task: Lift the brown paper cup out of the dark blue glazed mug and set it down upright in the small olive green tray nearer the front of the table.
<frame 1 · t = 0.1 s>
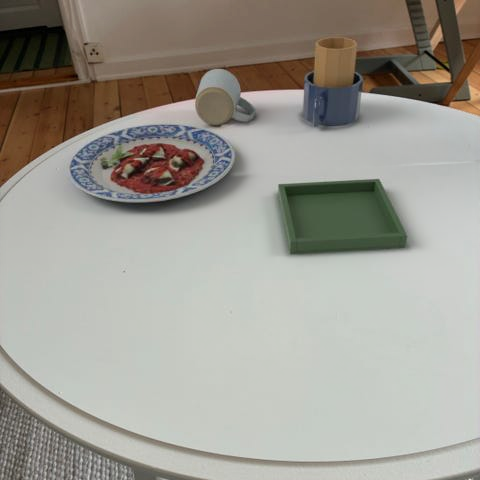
green tray: (336, 220, 73), on the table
blue mug: (330, 117, 98), on the table
ceramic mug: (226, 119, 100), on the table
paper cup: (330, 114, 98), point 1 cm above the table, touching blue mug
ceramic plate: (154, 171, 86), on the table
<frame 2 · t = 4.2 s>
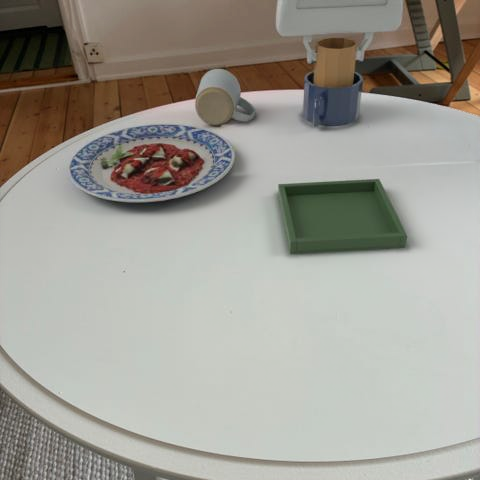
hand: (334, 61, 92), 10 cm above the table, tool pointing down, fingers closed on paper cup, 6 cm apart
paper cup: (330, 114, 98), point 1 cm above the table, touching blue mug, gripper
everything else where it was.
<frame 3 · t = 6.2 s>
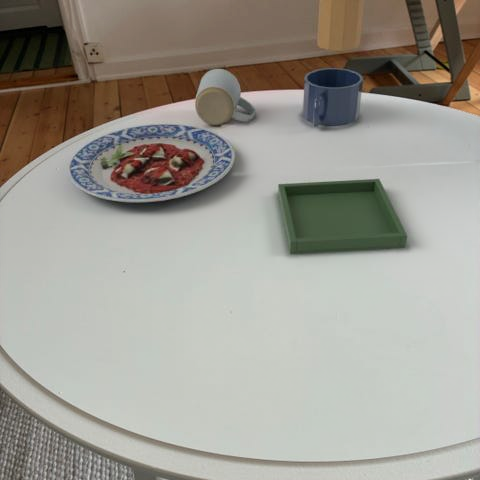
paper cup: (338, 44, 87), point 13 cm above the table, touching gripper
everything else where it was.
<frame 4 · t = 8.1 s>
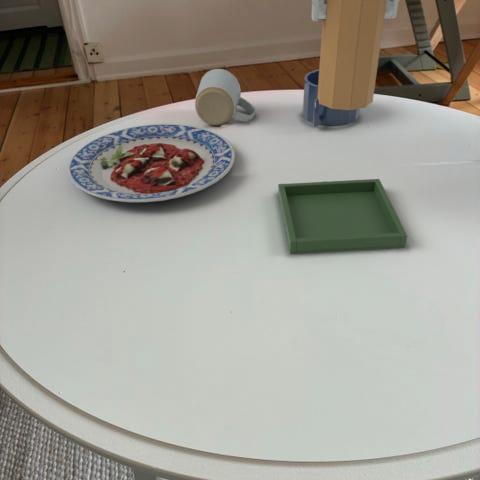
hand: (352, 18, 61), 23 cm above the table, tool pointing down, fingers closed on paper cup, 6 cm apart
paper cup: (344, 99, 68), point 14 cm above the table, touching gripper
everything else where it was.
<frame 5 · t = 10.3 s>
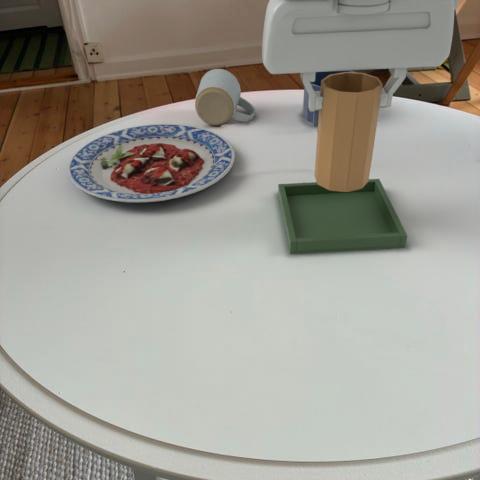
hand: (348, 107, 63), 15 cm above the table, tool pointing down, fingers closed on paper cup, 6 cm apart
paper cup: (341, 178, 69), point 6 cm above the table, touching gripper
everything else where it was.
when the fingers open (9 cm above the table, at t = 12.3 s): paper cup stays where it is, resting on green tray.
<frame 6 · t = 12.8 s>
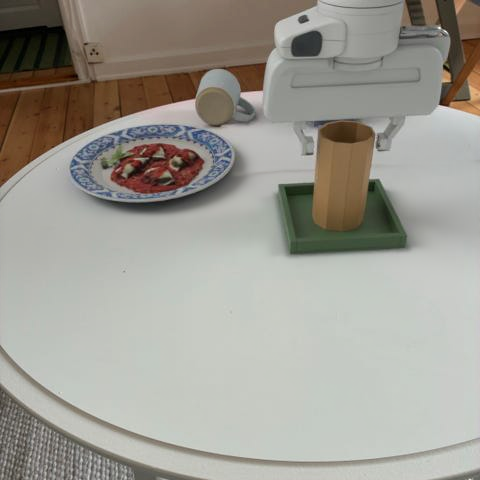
hand: (344, 151, 67), 10 cm above the table, tool pointing down, fingers open, 8 cm apart
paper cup: (337, 217, 73), resting on green tray
everything else where it was.
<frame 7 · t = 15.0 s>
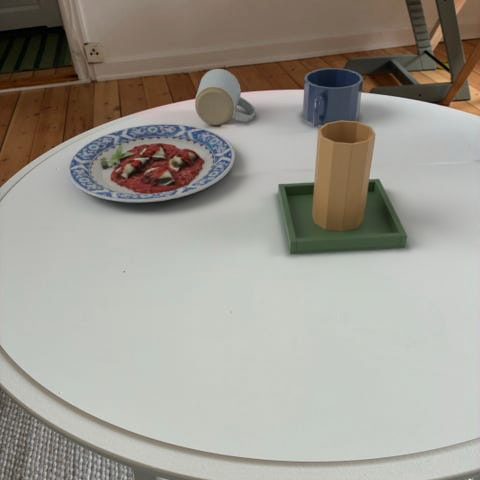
nothing on the table moved.
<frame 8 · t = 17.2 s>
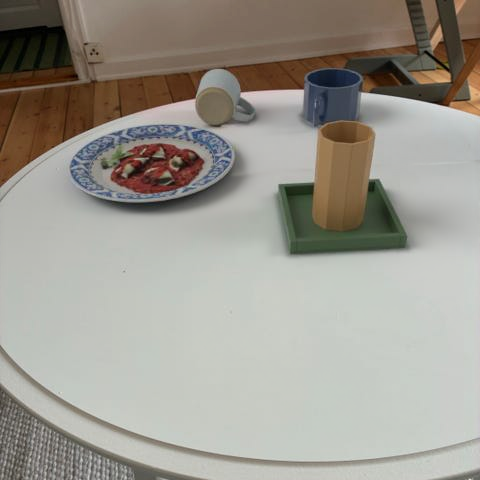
nothing on the table moved.
at the end: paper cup inside the target area in the green tray (0.0 cm from its centre), point 0.4 cm above the green tray's base; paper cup tilted 0°; the gripper is holding nothing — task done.
